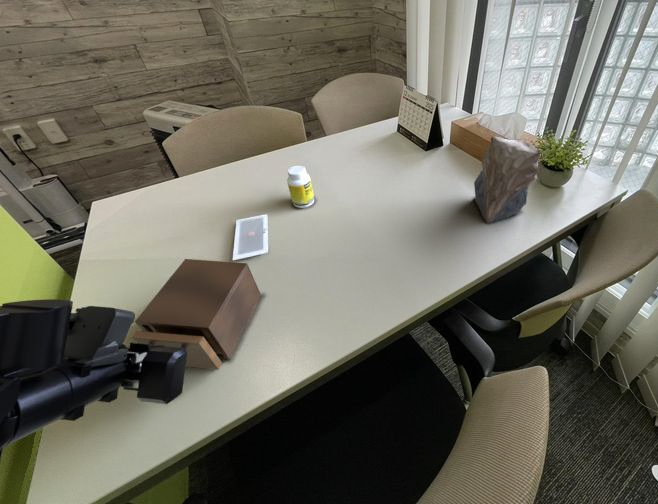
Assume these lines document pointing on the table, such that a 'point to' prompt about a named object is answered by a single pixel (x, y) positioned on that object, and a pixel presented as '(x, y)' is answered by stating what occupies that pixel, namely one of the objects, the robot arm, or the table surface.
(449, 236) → the table surface
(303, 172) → the pill bottle
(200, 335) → the drawer
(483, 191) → the brown grey rock
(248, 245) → the touchpad
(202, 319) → the cabinet
